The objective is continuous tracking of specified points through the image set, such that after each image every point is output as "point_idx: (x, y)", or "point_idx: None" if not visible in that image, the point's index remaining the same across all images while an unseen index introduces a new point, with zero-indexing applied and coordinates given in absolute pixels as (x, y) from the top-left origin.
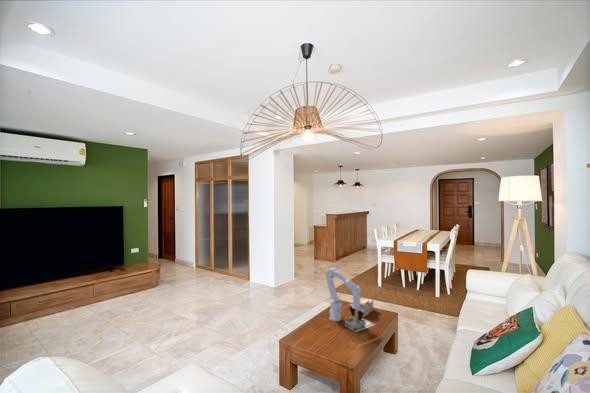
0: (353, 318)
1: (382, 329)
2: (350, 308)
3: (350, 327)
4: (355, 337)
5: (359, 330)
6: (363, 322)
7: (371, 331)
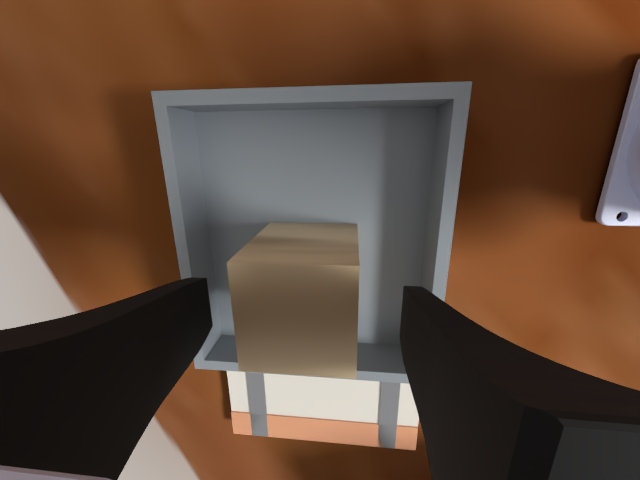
0: (339, 246)
1: None
2: (585, 430)
3: None
4: (112, 17)
5: None
6: None
7: None
